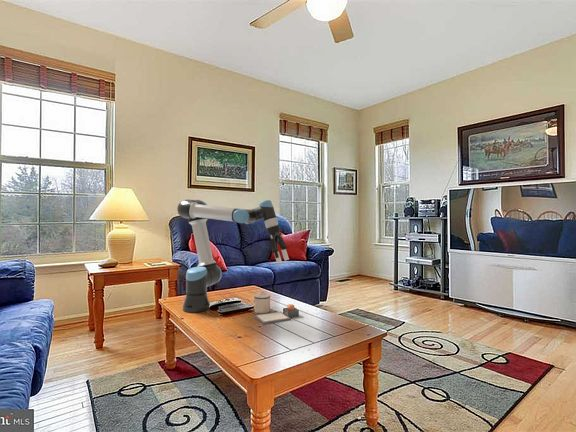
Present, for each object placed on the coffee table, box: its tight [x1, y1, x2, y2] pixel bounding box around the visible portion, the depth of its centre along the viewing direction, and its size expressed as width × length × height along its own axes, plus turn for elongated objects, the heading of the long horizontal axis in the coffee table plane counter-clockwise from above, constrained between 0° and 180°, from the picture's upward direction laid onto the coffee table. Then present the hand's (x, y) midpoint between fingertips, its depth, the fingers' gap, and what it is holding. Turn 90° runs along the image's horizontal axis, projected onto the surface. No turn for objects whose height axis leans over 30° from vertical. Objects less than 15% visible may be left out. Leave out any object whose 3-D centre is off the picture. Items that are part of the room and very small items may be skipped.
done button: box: [286, 303, 295, 311], centre depth 175 cm, size 4×4×3 cm
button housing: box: [282, 306, 300, 319], centre depth 175 cm, size 6×6×4 cm
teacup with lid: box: [253, 290, 271, 315], centre depth 183 cm, size 12×9×12 cm
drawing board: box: [253, 311, 292, 325], centre depth 170 cm, size 13×16×1 cm
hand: (283, 261), depth 184 cm, fingers open, 13 cm apart
